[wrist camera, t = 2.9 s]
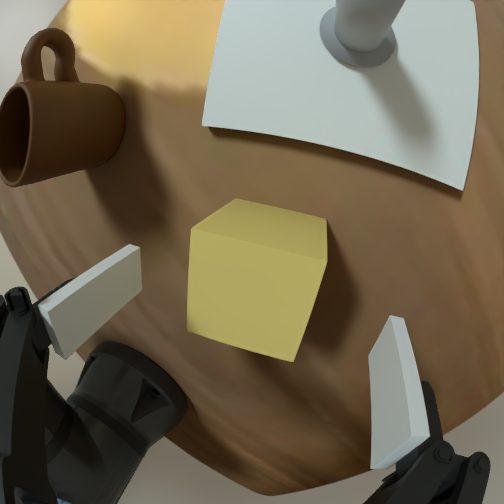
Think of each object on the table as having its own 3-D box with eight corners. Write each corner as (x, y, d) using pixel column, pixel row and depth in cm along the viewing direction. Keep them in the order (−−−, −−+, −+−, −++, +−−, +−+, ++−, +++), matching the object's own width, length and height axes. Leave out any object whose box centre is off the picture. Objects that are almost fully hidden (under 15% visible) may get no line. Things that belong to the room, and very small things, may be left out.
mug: (84, 49, 17) (7, 41, 8) (143, 34, 15) (58, 5, 7) (71, 164, 22) (-7, 186, 13) (125, 169, 20) (33, 195, 12)
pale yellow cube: (225, 277, 22) (186, 330, 15) (235, 198, 19) (191, 228, 13) (304, 298, 21) (293, 362, 14) (326, 219, 18) (327, 261, 12)
